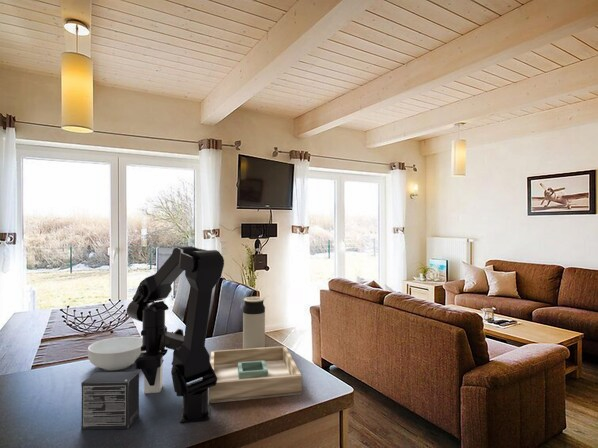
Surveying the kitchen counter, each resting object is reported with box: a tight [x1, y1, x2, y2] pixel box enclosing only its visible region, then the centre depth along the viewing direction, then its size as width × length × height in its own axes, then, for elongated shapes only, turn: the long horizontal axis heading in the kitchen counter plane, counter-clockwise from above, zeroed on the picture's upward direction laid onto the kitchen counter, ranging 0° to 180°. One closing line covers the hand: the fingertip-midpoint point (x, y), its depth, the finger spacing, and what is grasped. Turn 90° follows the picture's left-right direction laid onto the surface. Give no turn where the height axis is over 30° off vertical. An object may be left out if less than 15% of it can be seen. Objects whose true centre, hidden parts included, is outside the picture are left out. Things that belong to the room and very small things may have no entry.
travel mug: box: [242, 296, 266, 349], centre depth 133 cm, size 8×8×18 cm
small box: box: [80, 371, 140, 431], centre depth 83 cm, size 11×6×10 cm, turn 92°
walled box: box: [208, 345, 303, 404], centre depth 106 cm, size 24×24×5 cm
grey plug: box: [143, 363, 163, 394], centre depth 99 cm, size 4×4×8 cm
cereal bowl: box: [87, 336, 145, 372], centre depth 116 cm, size 17×17×7 cm
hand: (153, 382), depth 99 cm, fingers closed on grey plug, 4 cm apart
